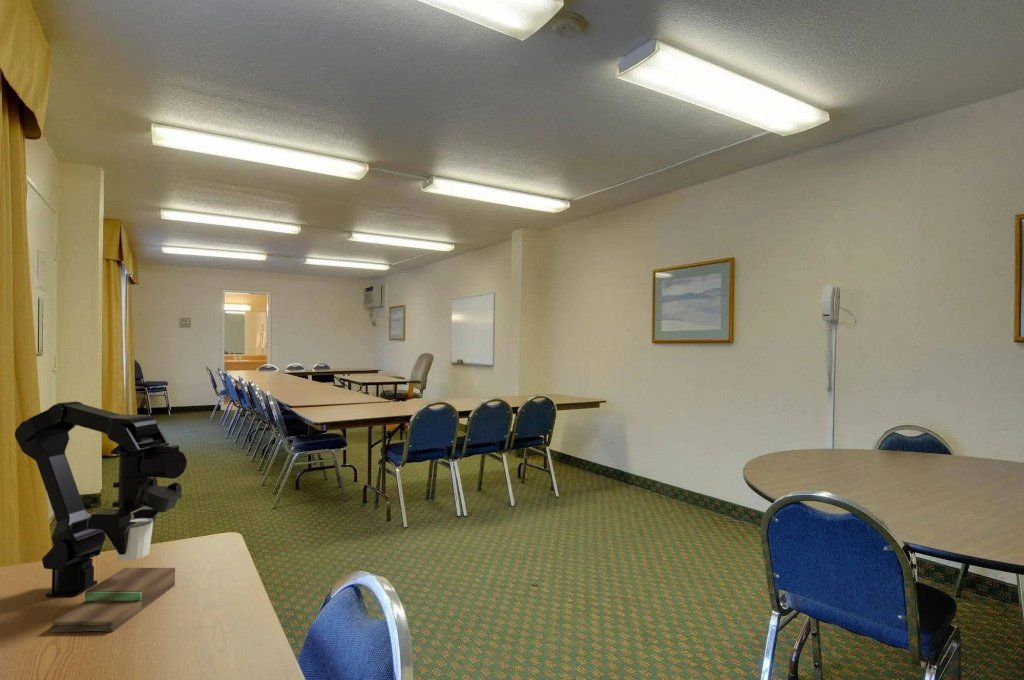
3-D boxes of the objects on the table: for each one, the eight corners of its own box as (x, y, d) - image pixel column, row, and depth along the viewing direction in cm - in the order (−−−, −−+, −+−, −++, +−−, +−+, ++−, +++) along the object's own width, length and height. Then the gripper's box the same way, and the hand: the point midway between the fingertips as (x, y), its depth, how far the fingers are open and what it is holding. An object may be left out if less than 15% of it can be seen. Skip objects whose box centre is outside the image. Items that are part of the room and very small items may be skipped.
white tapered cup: (160, 551, 113) (161, 519, 113) (128, 563, 107) (129, 529, 107) (138, 547, 116) (138, 515, 116) (105, 558, 109) (106, 525, 109)
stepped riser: (50, 633, 97) (51, 611, 97) (124, 585, 116) (125, 567, 116) (110, 633, 97) (111, 611, 97) (174, 585, 117) (175, 567, 117)
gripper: (143, 487, 102) (141, 567, 102) (198, 465, 121) (196, 532, 121) (86, 486, 102) (83, 566, 102) (149, 465, 121) (147, 532, 120)
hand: (133, 548), depth 111 cm, fingers closed on white tapered cup, 6 cm apart
